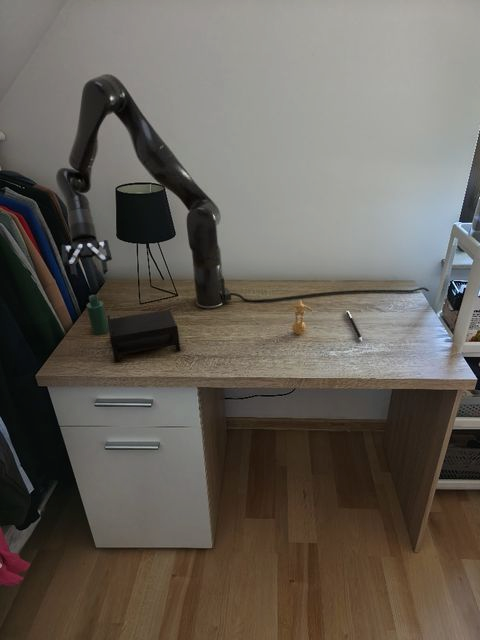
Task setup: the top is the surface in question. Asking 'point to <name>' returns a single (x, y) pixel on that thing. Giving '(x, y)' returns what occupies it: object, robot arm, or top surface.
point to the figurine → (298, 325)
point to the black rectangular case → (143, 332)
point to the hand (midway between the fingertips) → (90, 274)
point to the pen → (354, 326)
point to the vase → (97, 315)
